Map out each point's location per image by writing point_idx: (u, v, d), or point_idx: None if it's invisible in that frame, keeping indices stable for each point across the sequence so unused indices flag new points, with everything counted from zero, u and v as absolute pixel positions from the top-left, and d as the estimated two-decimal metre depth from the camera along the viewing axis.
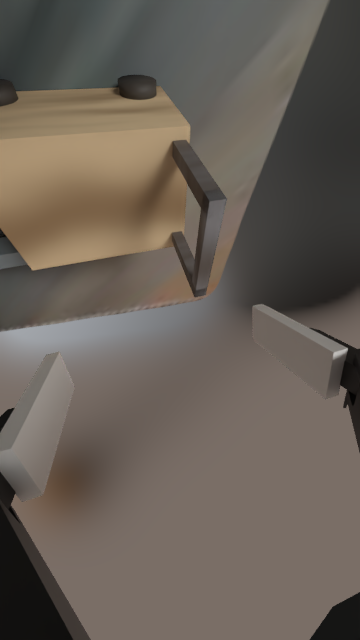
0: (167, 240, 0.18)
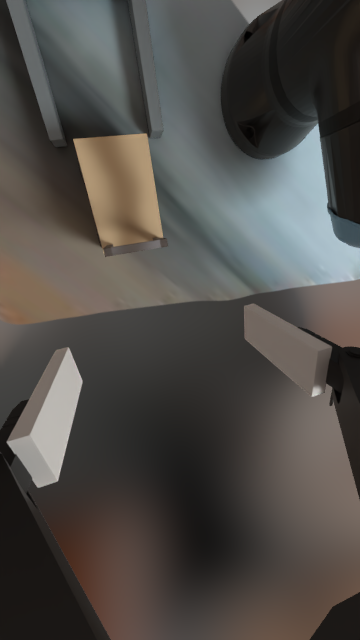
0: (106, 241, 0.28)
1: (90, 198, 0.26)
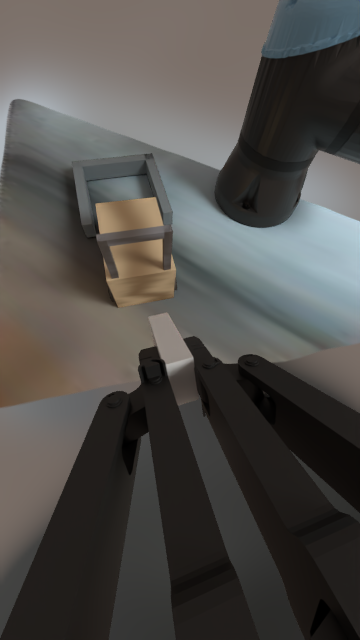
0: None
1: None
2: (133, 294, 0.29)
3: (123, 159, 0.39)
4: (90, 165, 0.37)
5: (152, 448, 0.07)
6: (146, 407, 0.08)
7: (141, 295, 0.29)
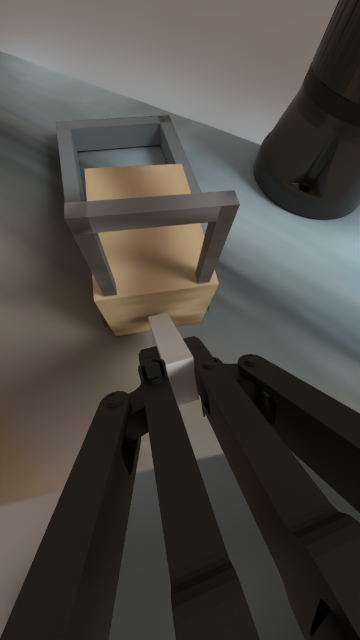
0: None
1: None
2: (140, 319, 0.17)
3: (129, 121, 0.28)
4: (82, 127, 0.26)
5: (152, 448, 0.07)
6: (146, 407, 0.08)
7: None
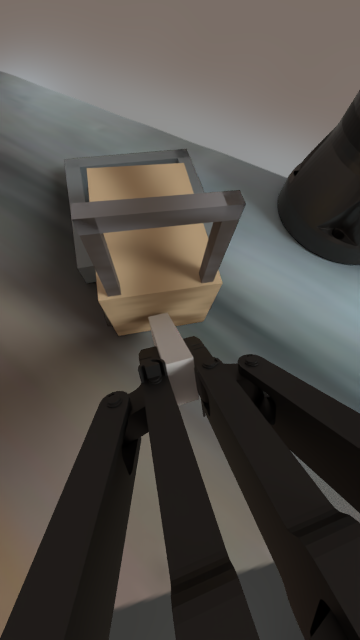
0: None
1: None
2: (143, 319, 0.17)
3: (143, 156, 0.25)
4: (93, 165, 0.24)
5: (152, 448, 0.07)
6: (146, 407, 0.08)
7: None
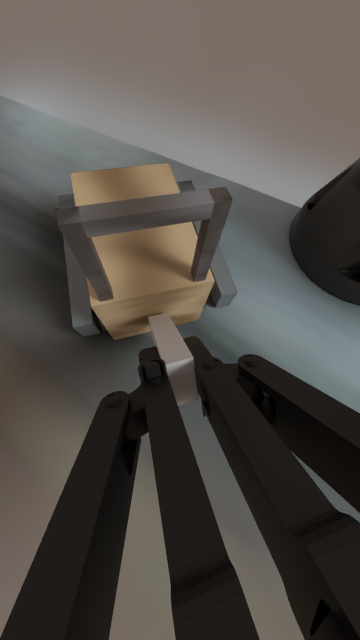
0: None
1: None
2: (138, 322, 0.17)
3: None
4: None
5: (152, 448, 0.07)
6: (146, 407, 0.08)
7: None
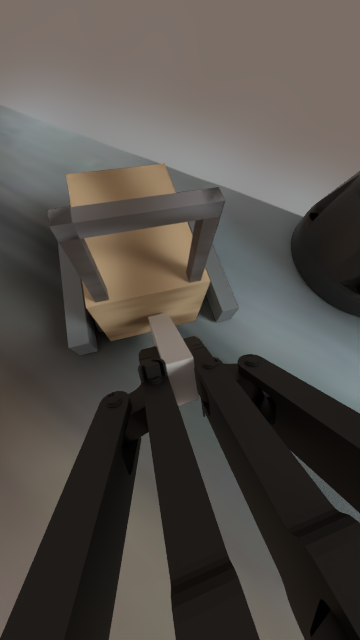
0: None
1: None
2: (134, 322, 0.17)
3: None
4: None
5: (152, 448, 0.07)
6: (146, 407, 0.08)
7: (148, 323, 0.18)
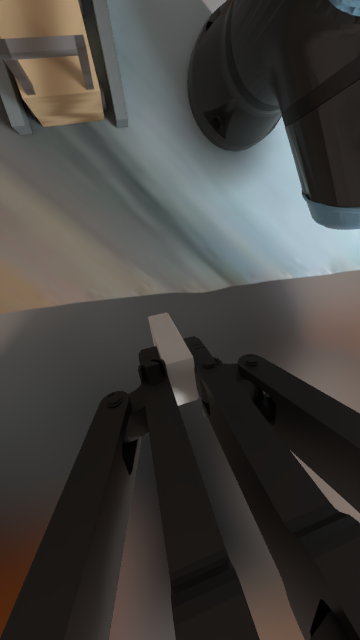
0: None
1: None
2: (57, 114, 0.27)
3: None
4: None
5: (152, 448, 0.07)
6: (146, 407, 0.08)
7: (67, 115, 0.28)
